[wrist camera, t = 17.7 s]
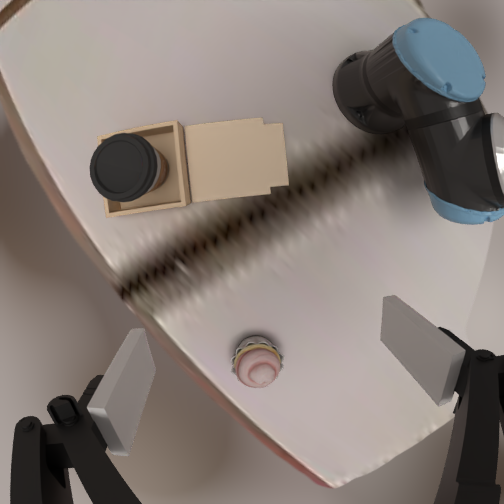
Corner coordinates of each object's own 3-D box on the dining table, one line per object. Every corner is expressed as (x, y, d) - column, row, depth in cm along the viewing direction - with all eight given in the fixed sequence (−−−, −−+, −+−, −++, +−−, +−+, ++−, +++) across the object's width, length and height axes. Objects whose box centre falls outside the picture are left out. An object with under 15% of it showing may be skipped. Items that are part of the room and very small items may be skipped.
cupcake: (224, 366, 55) (225, 400, 45) (235, 323, 53) (237, 353, 43) (273, 373, 56) (280, 407, 47) (286, 332, 54) (297, 362, 45)
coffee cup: (167, 202, 47) (141, 212, 32) (120, 189, 46) (78, 194, 31) (182, 151, 45) (162, 138, 31) (134, 139, 44) (97, 124, 30)
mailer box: (281, 117, 46) (288, 109, 40) (288, 191, 49) (296, 193, 43) (111, 140, 44) (97, 136, 39) (119, 213, 47) (106, 217, 41)
